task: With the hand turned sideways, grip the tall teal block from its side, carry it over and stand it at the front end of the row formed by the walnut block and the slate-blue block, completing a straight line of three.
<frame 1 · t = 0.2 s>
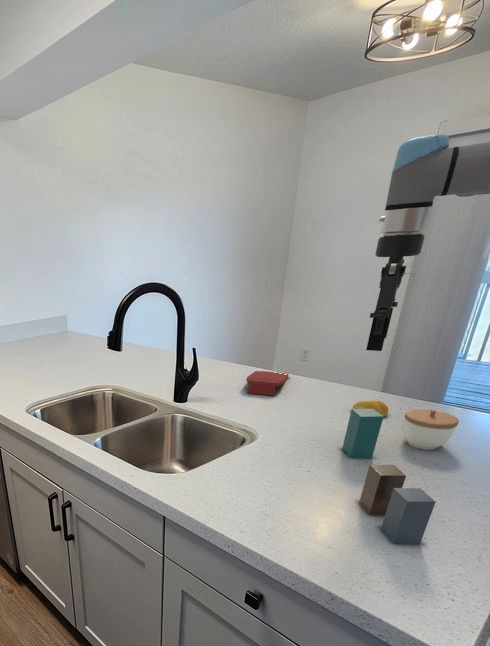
hand: (376, 343, 94), 28 cm above the worktop, tool pointing down, fingers open, 13 cm apart
teal block: (356, 453, 109), on the worktop
walnut block: (375, 508, 88), on the worktop
carton: (266, 385, 160), on the worktop
trinket box: (422, 445, 111), on the worktop
slate block: (399, 536, 80), on the worktop
bread roll: (368, 414, 131), on the worktop
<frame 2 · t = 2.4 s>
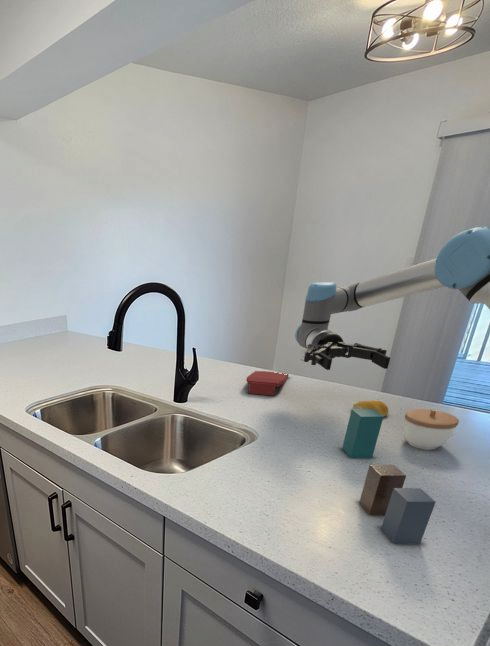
hand: (358, 364, 108), 20 cm above the worktop, tool horizontal, fingers open, 13 cm apart
nothing on the worktop moved.
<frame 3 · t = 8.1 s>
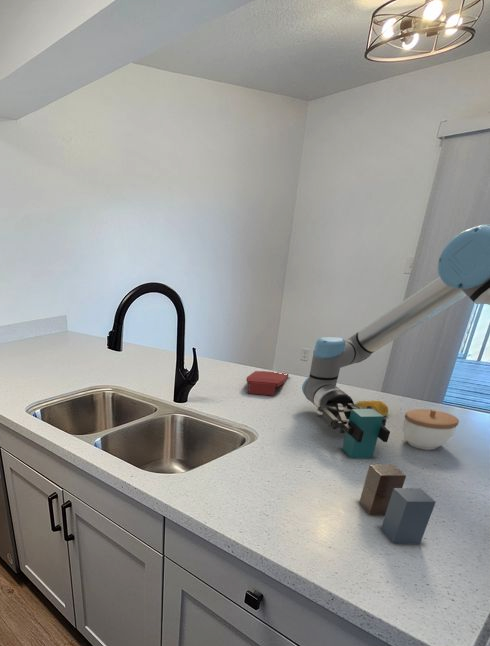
hand: (373, 436, 101), 7 cm above the worktop, tool horizontal, fingers closed on teal block, 5 cm apart
teal block: (356, 453, 109), on the worktop, touching gripper
everything else where it was.
when the fingers open (7 cm above the worktop, at t = 17.6 s): teal block stays where it is, on the worktop.
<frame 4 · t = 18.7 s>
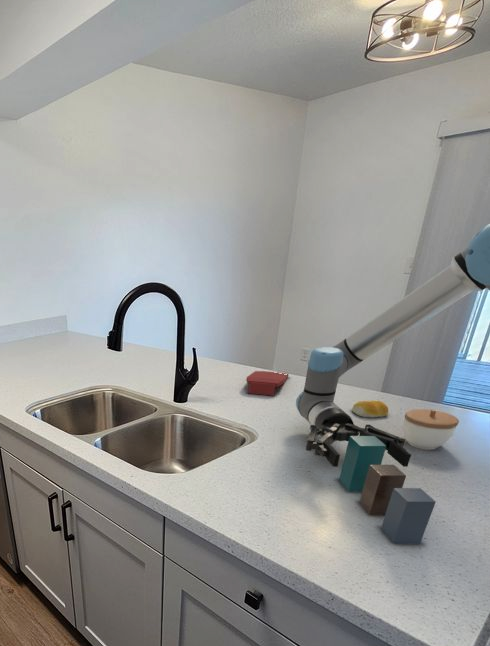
hand: (371, 461, 89), 8 cm above the worktop, tool horizontal, fingers open, 13 cm apart
teal block: (355, 486, 96), on the worktop
everything else where it was.
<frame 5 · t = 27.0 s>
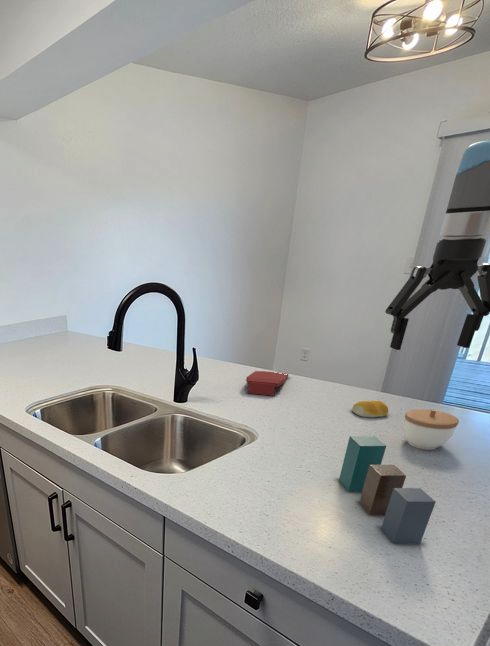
hand: (428, 347, 94), 27 cm above the worktop, tool pointing down, fingers open, 13 cm apart
nothing on the worktop moved.
at the end: teal block 0.0 cm from the target spot on the worktop beside the walnut block, on the worktop; teal block tilted 0°; walnut block moved 0.0 cm from its start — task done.
